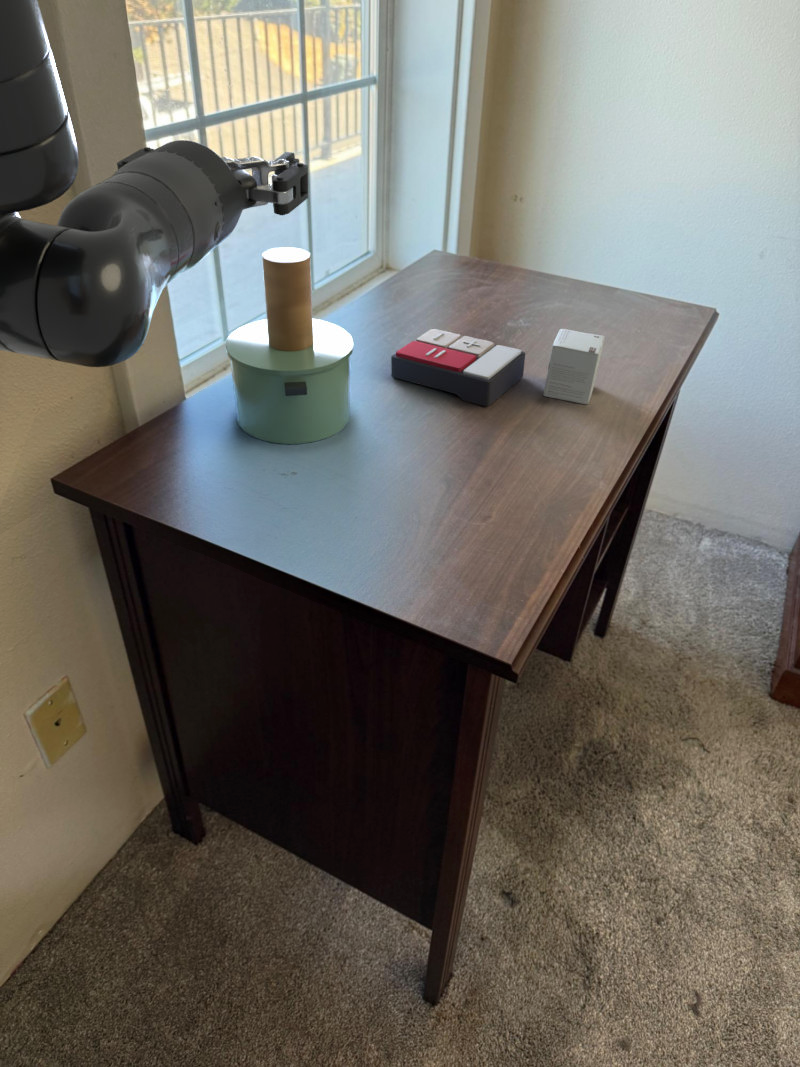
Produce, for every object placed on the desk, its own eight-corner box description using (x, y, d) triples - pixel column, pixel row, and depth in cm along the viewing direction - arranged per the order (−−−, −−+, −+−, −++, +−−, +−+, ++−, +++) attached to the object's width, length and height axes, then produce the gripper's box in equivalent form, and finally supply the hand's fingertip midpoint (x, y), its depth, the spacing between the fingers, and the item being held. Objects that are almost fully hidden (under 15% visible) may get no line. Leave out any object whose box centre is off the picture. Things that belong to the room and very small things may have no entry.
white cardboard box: (550, 377, 103) (559, 327, 99) (594, 385, 102) (605, 334, 97) (542, 397, 99) (551, 344, 94) (588, 405, 97) (600, 353, 93)
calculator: (431, 324, 107) (527, 346, 100) (430, 353, 109) (524, 376, 103) (389, 351, 100) (490, 376, 93) (390, 380, 102) (488, 407, 96)
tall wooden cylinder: (269, 352, 84) (262, 263, 78) (267, 333, 88) (261, 247, 82) (315, 350, 85) (312, 262, 79) (311, 332, 89) (308, 246, 83)
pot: (234, 454, 85) (225, 377, 79) (232, 386, 98) (224, 316, 92) (362, 445, 88) (363, 370, 82) (344, 381, 100) (344, 312, 94)
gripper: (264, 162, 50) (322, 119, 63) (64, 142, 51) (160, 104, 64) (270, 273, 55) (323, 213, 67) (87, 252, 56) (172, 196, 69)
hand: (244, 160), depth 66 cm, fingers open, 8 cm apart
